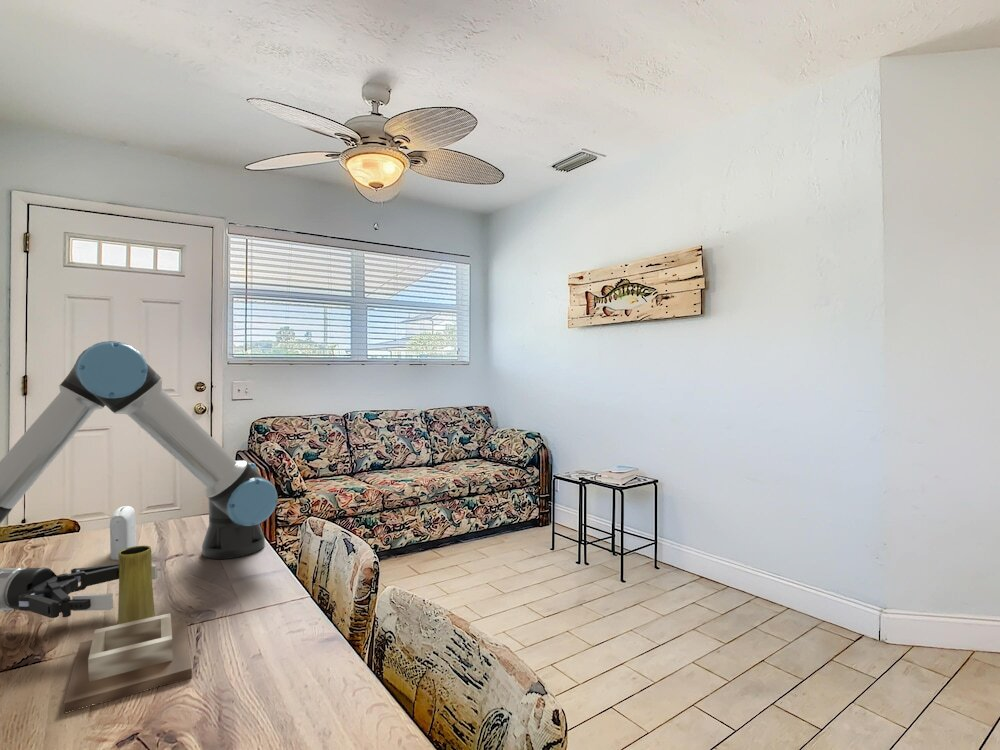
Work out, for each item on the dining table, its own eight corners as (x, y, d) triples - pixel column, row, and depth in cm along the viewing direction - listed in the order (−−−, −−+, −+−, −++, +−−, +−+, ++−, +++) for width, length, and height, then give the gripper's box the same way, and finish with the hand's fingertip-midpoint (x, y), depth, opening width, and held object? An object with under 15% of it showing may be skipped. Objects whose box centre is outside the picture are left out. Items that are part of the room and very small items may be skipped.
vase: (162, 618, 106) (161, 546, 106) (132, 632, 100) (130, 557, 100) (140, 613, 108) (138, 543, 108) (109, 627, 102) (107, 553, 102)
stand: (185, 626, 103) (185, 600, 103) (191, 677, 86) (191, 646, 86) (80, 651, 94) (79, 623, 94) (64, 713, 77) (63, 679, 77)
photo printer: (128, 559, 139) (127, 511, 138) (108, 561, 137) (107, 513, 137) (138, 546, 148) (137, 501, 148) (119, 548, 147) (118, 503, 146)
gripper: (71, 581, 115) (172, 579, 116) (-41, 642, 91) (89, 638, 91) (70, 546, 115) (171, 544, 116) (-43, 598, 90) (87, 594, 91)
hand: (135, 585), depth 104 cm, fingers open, 13 cm apart
